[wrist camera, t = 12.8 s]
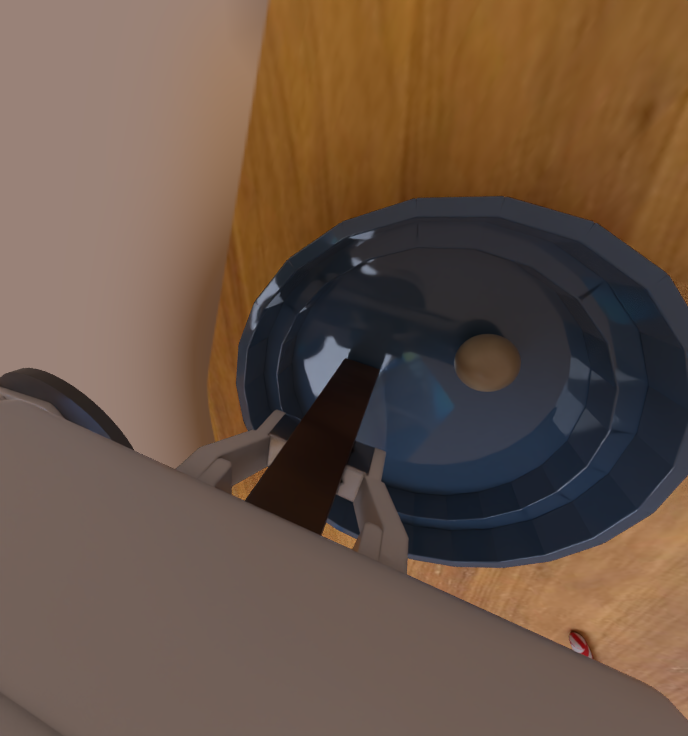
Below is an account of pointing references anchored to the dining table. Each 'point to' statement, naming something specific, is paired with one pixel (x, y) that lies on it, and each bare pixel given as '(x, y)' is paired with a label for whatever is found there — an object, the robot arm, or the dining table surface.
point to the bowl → (476, 408)
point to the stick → (317, 451)
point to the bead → (487, 362)
